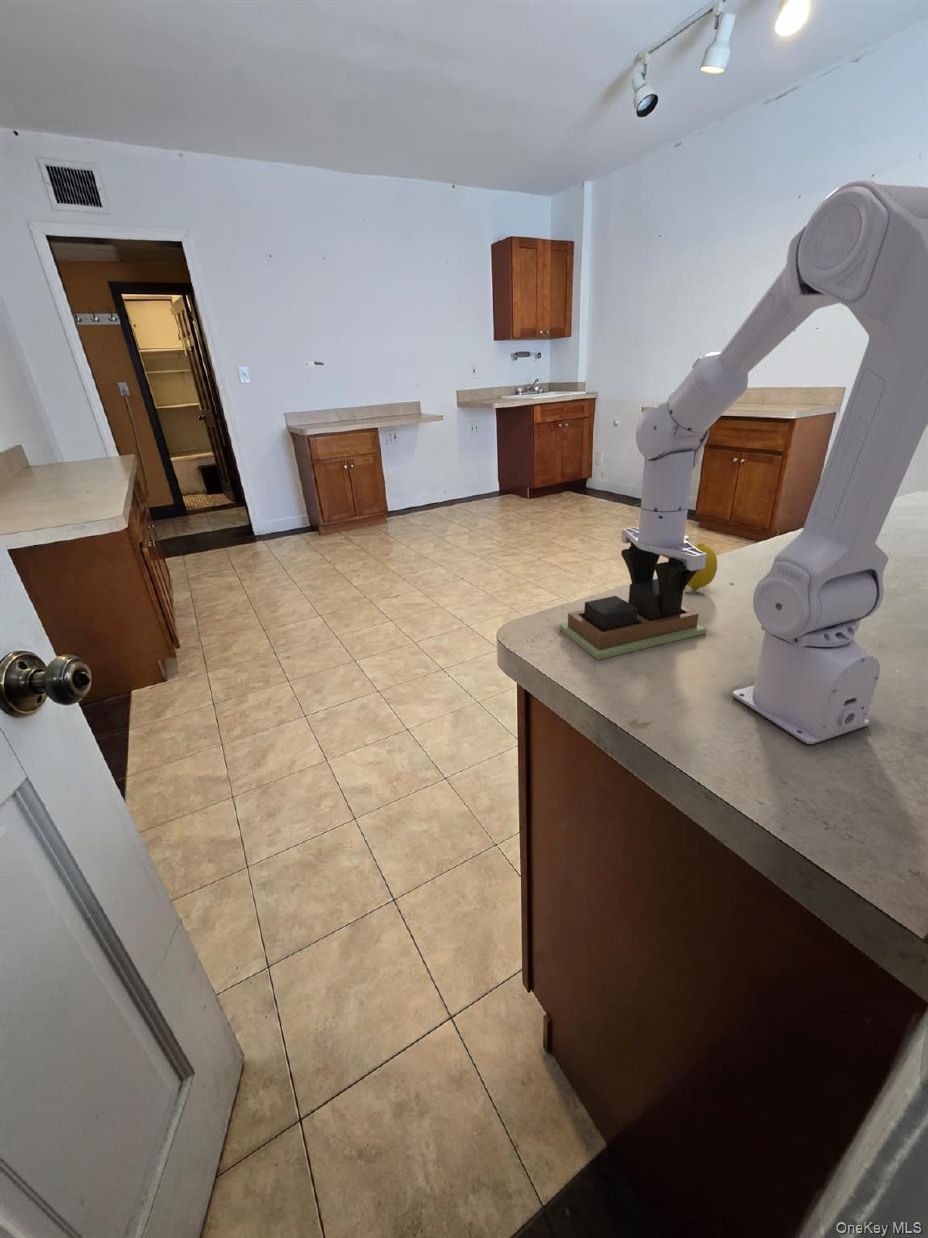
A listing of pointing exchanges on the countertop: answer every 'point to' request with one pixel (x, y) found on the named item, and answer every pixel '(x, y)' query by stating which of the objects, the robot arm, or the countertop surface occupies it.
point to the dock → (631, 633)
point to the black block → (649, 600)
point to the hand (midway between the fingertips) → (654, 604)
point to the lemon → (708, 572)
